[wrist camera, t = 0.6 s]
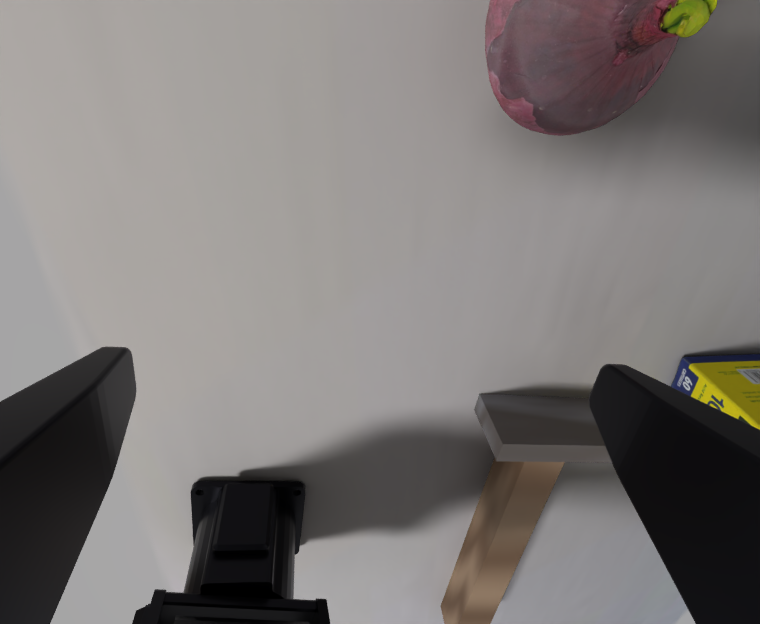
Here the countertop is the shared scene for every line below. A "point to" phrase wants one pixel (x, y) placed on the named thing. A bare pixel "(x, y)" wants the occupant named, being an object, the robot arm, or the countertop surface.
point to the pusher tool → (515, 492)
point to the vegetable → (581, 56)
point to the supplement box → (723, 384)
